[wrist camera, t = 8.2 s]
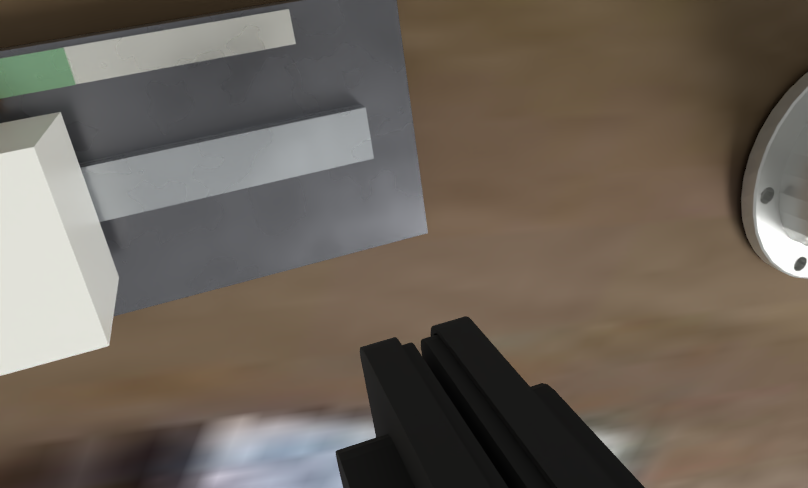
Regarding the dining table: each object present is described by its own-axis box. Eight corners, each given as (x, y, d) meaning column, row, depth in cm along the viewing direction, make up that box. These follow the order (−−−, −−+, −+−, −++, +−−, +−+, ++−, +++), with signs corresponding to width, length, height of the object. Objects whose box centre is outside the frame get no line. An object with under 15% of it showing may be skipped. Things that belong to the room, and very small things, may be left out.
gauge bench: (382, -16, 26) (457, -13, 19) (416, 221, 30) (487, 291, 23) (-372, 110, 20) (-632, 176, 14) (-203, 382, 24) (-340, 533, 18)
